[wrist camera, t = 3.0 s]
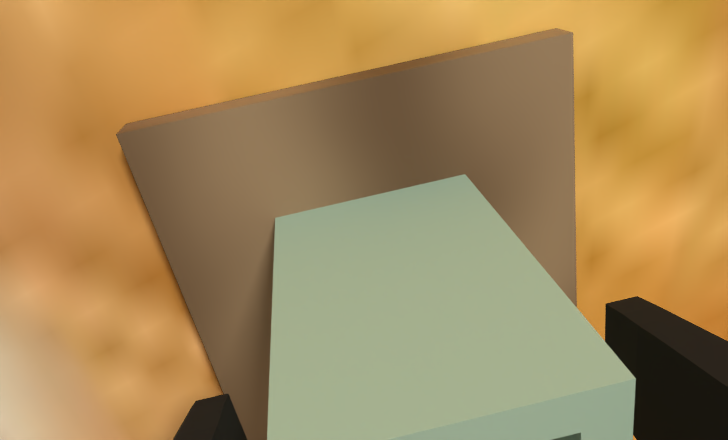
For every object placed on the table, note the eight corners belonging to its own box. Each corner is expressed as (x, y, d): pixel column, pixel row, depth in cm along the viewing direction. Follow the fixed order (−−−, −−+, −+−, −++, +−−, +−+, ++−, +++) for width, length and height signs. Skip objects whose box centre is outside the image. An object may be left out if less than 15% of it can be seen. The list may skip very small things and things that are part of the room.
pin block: (251, 434, 17) (241, 578, 13) (125, 123, 12) (52, 200, 8) (565, 358, 17) (646, 476, 13) (556, 28, 12) (677, 59, 9)
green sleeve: (319, 365, 15) (344, 663, 9) (275, 217, 13) (265, 469, 6) (482, 326, 15) (624, 591, 9) (465, 174, 13) (635, 378, 7)
